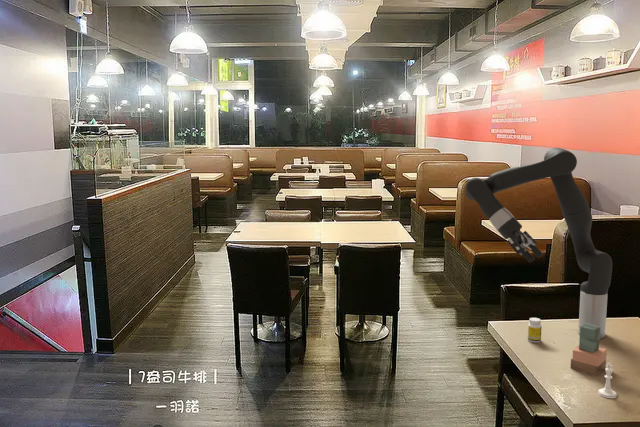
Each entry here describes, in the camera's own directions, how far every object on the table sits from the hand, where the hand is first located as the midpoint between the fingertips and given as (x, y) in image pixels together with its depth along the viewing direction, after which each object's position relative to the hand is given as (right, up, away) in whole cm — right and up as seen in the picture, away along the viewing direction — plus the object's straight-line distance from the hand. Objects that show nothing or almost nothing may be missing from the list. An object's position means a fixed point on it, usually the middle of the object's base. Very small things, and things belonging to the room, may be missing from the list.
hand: (536, 258), depth 190 cm
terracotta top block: (+14, -33, -8) cm, 37 cm away
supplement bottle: (+6, -33, +16) cm, 37 cm away
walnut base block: (+14, -36, -8) cm, 40 cm away
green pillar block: (+14, -29, -9) cm, 34 cm away
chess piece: (+11, -39, -25) cm, 48 cm away
